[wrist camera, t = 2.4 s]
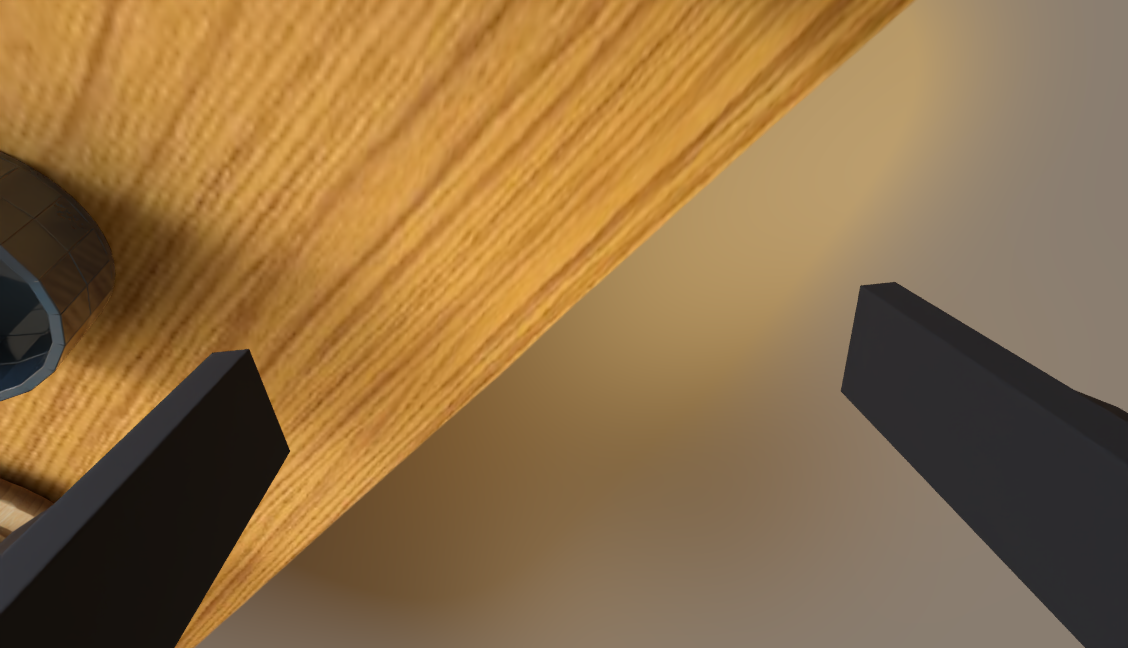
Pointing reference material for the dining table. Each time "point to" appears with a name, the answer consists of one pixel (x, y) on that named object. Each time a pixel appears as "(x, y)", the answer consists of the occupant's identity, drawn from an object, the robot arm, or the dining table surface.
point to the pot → (45, 276)
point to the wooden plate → (18, 507)
